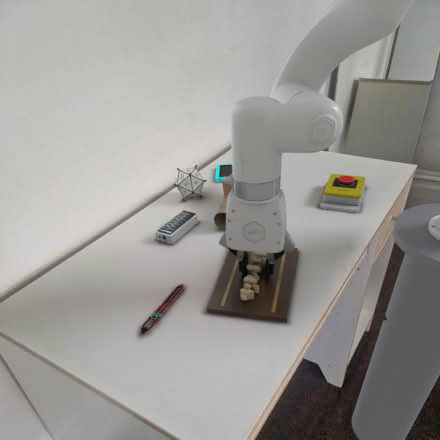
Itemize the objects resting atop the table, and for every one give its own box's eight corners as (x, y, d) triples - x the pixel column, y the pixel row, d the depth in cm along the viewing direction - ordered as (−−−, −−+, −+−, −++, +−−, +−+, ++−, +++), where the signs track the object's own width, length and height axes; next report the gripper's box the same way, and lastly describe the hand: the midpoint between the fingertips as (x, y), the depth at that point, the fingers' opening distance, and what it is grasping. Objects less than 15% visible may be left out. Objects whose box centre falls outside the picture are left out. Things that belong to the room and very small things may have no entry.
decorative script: (254, 248, 78) (254, 234, 75) (272, 250, 77) (273, 236, 75) (238, 304, 65) (237, 289, 63) (259, 306, 64) (259, 292, 62)
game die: (197, 211, 101) (198, 194, 91) (168, 199, 101) (167, 180, 91) (209, 184, 103) (212, 164, 93) (181, 172, 103) (181, 151, 93)
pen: (187, 286, 71) (187, 283, 71) (146, 336, 62) (145, 334, 61) (179, 284, 72) (178, 281, 71) (137, 333, 63) (136, 330, 62)
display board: (297, 251, 78) (297, 247, 77) (286, 322, 62) (287, 318, 62) (232, 246, 81) (232, 242, 80) (207, 312, 66) (206, 308, 65)
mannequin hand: (209, 235, 89) (236, 182, 105) (237, 232, 85) (261, 177, 101) (198, 210, 84) (228, 158, 100) (227, 206, 81) (254, 153, 97)
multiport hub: (199, 221, 89) (198, 213, 88) (171, 244, 83) (170, 236, 81) (184, 218, 91) (183, 209, 90) (156, 240, 85) (154, 231, 83)
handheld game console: (271, 179, 105) (271, 175, 104) (215, 182, 106) (214, 178, 105) (268, 165, 112) (269, 161, 111) (216, 168, 113) (216, 163, 112)
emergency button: (368, 169, 95) (362, 196, 85) (365, 186, 98) (358, 213, 88) (331, 166, 98) (321, 191, 88) (329, 182, 101) (319, 208, 91)
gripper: (200, 193, 58) (209, 283, 70) (308, 198, 54) (298, 292, 66) (212, 173, 63) (219, 259, 75) (311, 177, 60) (302, 267, 72)
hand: (256, 274), depth 71 cm, fingers closed on decorative script, 3 cm apart
